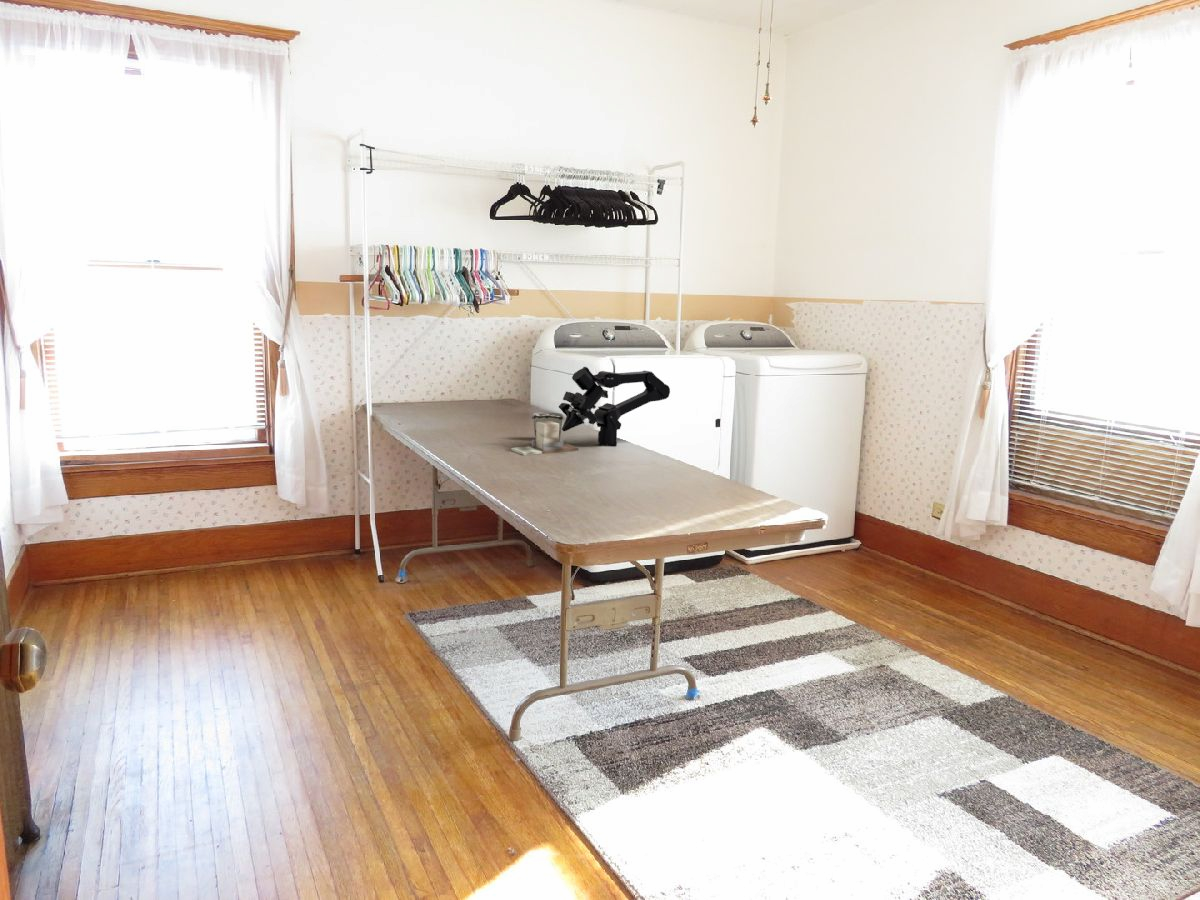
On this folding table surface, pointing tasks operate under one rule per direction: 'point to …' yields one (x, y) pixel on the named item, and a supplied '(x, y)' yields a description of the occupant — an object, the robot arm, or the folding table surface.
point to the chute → (544, 448)
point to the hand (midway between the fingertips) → (563, 430)
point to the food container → (548, 419)
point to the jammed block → (546, 433)
